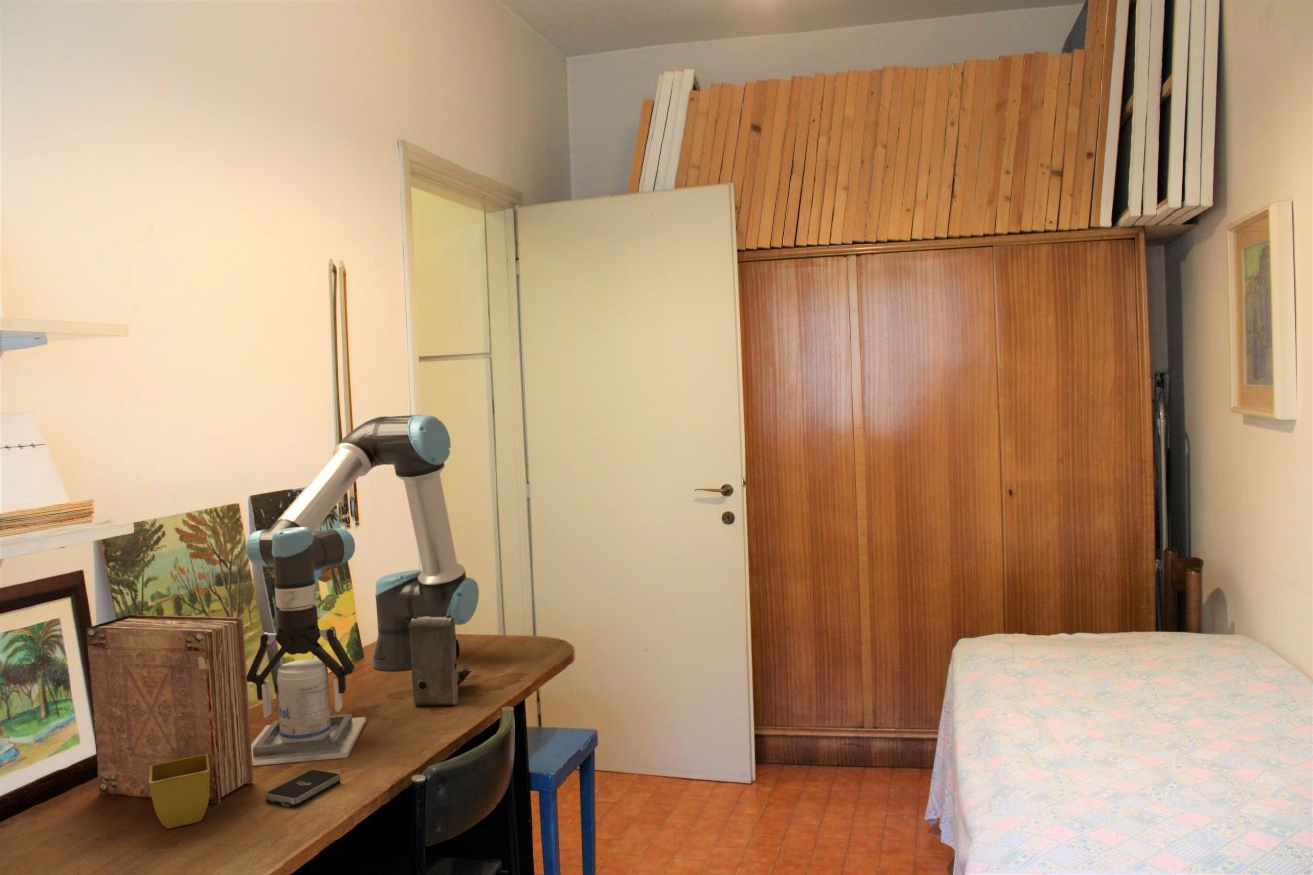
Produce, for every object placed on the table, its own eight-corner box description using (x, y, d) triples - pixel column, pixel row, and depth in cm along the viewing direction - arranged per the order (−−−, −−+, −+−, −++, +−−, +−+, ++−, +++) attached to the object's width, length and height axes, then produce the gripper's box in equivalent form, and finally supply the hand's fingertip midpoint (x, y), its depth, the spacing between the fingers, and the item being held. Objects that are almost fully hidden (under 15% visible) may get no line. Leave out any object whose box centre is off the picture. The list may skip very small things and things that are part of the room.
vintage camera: (475, 687, 222) (470, 602, 222) (455, 707, 207) (449, 616, 207) (435, 688, 223) (430, 604, 223) (412, 708, 208) (406, 617, 208)
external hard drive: (264, 804, 162) (264, 793, 162) (312, 779, 172) (312, 768, 172) (295, 810, 159) (295, 798, 159) (342, 784, 169) (342, 773, 169)
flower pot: (152, 838, 150) (148, 782, 150) (153, 817, 158) (149, 763, 158) (213, 824, 154) (210, 770, 154) (211, 804, 162) (208, 752, 162)
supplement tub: (271, 740, 189) (266, 667, 188) (315, 726, 196) (310, 655, 195) (296, 750, 183) (292, 675, 182) (341, 735, 190) (336, 662, 189)
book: (255, 783, 171) (244, 617, 169) (218, 805, 162) (206, 630, 160) (139, 773, 177) (128, 614, 176) (98, 794, 169) (86, 626, 167)
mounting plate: (266, 729, 198) (266, 717, 198) (365, 721, 201) (365, 709, 201) (237, 767, 178) (236, 753, 178) (347, 757, 181) (346, 743, 181)
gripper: (224, 615, 183) (231, 724, 184) (358, 606, 186) (364, 712, 187) (236, 606, 190) (243, 711, 191) (364, 598, 193) (371, 700, 194)
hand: (303, 712), depth 189 cm, fingers open, 13 cm apart
